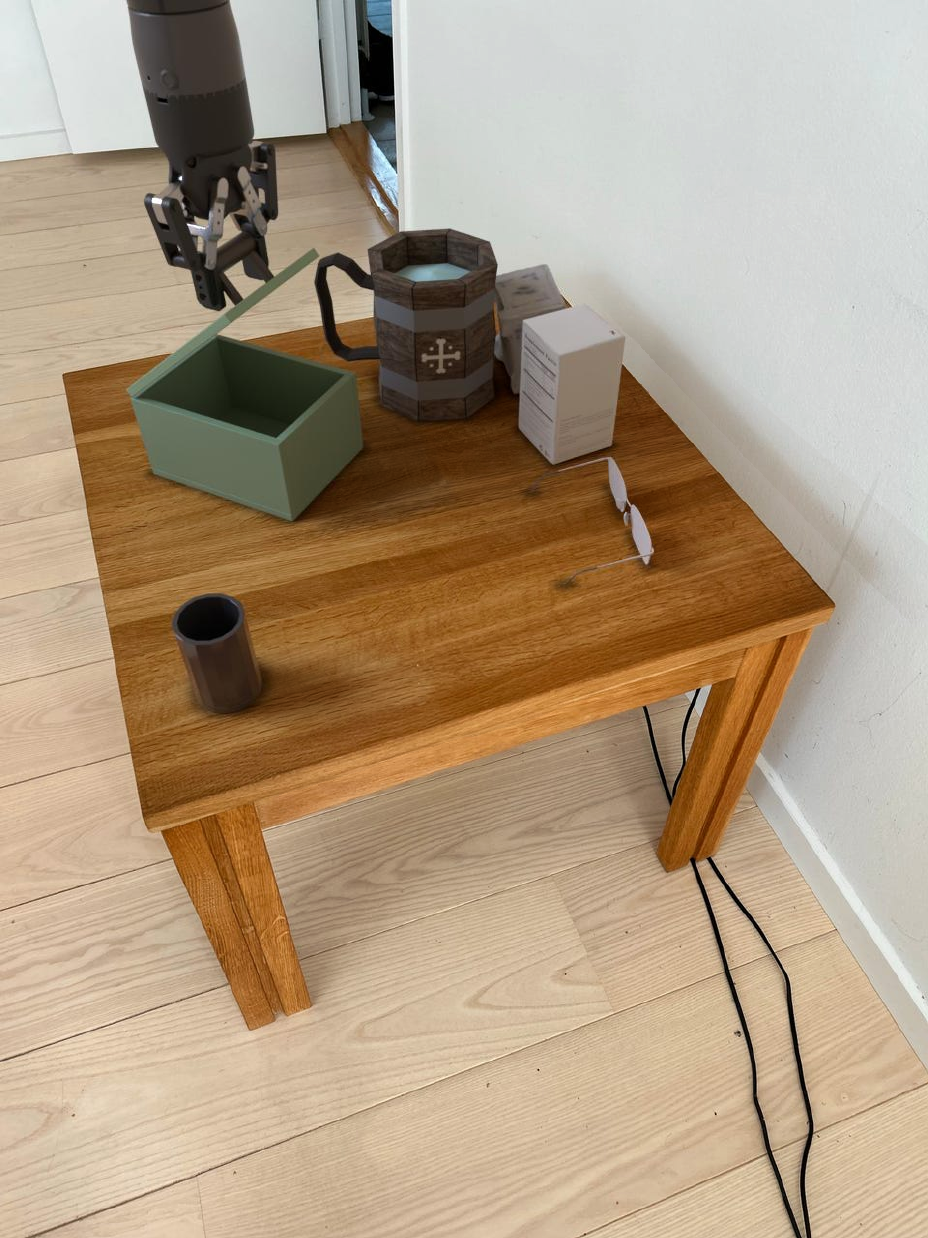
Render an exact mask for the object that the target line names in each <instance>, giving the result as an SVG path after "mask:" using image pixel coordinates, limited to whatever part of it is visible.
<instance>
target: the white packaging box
mask: <svg viewBox="0 0 928 1238" xmlns="http://www.w3.org/2000/svg"><path fill="white" fill-rule="evenodd" d="M625 344H626V336H625V335H624V334H623V333H622V332H621V331H620V330H619V329H617V328H616V327H615V326H614V325H613V324H611V323H610V322H609V321H608V320H606V319H605V318H604V317H603V316H602V315H600V314H599V313H598V312H597V311H595V310H594V309H593V308H591V307H590V306H589V305H588V304H586V303H581V304H578V305H574V306H570V307H566V309H563V310H559V311H556V312H552V313H548V314H544V315H541V316H537V317H533V318H529V319H525V320H523V327H522V353H521V380H520V393H519V405H518V429H519V430H520V431H521V433H522V434H523V435H524V436H525V437H526V438H527V439H528V440H529V442H530V443H531V444H532V445H533V446H534V447H535V448H536V449H537V450H538V451H539V452H540V454H542V455H543V457H544V458H545V459H546V460H547V461H548V462H549V463H550V464H551V465H553V466H554V465H557V464H560V463H563V462H567V461H569V460H572V459H575V458H578V457H581V456H584V455H587V454H591V453H594V452H596V451H599V450H602V449H605V448H608V447H611V446H612V445H613V439H614V438H613V437H614V431H615V422H616V416H617V415H616V414H617V407H618V401H619V399H618V398H619V390H620V382H621V377H622V375H621V374H622V368H623V367H622V366H623V361H624V352H625Z"/></svg>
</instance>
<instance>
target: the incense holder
mask: <svg viewBox="0 0 928 1238" xmlns="http://www.w3.org/2000/svg"><path fill="white" fill-rule="evenodd" d="M494 303H495V307H496V318H497V323H498V324H497V325H498V330H497V332H498V333H497V334H496V338H495V347H494V356H495V357H496V359H497V360H498V361H499V362H503V364H504V367H505V370H506V372H507V375H508V376H509V378H510V389H511V392H512V393H513V394H514V395H517V394H520V380H521V353H522V327H523V320H525V319H529V318H533V317H537V316H541V315H544V314H548V313H552V312H556V311H559V310H563V309H567V305H566V301H565V300H564V298H563V296H562V294H561V292H560V290H559V288H558V286H557V284H556V281H555V279H554V277H553V273H552V272H551V269H550V267H549V265H548V264H537V265H534V266H531V267H526V268H521V269H516V270H513V271H510V272H506V273H505V272H504V273H501V274H496V280H495V287H494Z"/></svg>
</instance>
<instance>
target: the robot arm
mask: <svg viewBox="0 0 928 1238" xmlns="http://www.w3.org/2000/svg"><path fill="white" fill-rule="evenodd" d="M125 2H126V5H127V11H128V16H129V17H128V18H129V24H130V34H131V41H132V48H133V52H134V56H135V61H136V64H137V69H138V73H139V77H140V81H141V86H142V90H143V95H144V99H145V104H146V108H147V111H148V116H149V121H150V125H151V130H152V132H153V138H154V142H155V144H156V145H157V147H158V148H159V149H160V151H161V152H162V153H163V154H164V155H165V157H166V158H167V162H168V185H167V186H166V187H165V188H164V189H163V190H161V191H160V193H153V192H152V193H151V192H148V193H145V195H144V199H143V204H144V207H145V210H146V213H147V216H148V218H149V221H150V224H151V225H152V228H153V230H154V233H155V235H156V238H157V241H158V243H159V245H160V248H161V251H162V253H163V255H164V258H165V261H166V263H167V265H168V266H170V267H174V268H181V269H184V270H188V271H190V273H191V279H192V283H193V288H194V291H195V295H196V300H197V302H198V303H199V304H200V305H201V306H202V307H203V308H205V309H207V310H211V311H215V312H221V311H222V310H224V309H225V308H226V307H227V300H226V295H225V292H224V290H223V285H222V280H221V276H220V271H219V266H216V257H217V248H218V242H219V240H221V239H222V238H223V235H224V223H225V219H226V218H227V217H228V216H229V217H230V219H231V221H232V223H233V224H234V226H235V228H236V229H237V231H240V232H248V233H249V234H251V235H252V236H253V238H254V239H255V242H256V252H257V253H258V255H259V256H260V257H261V259H262V260H263V261H264V263H265V264H266V266H267V267H268V268H269V265H270V262H269V261H270V260H269V256H268V249H267V243H266V237H265V236H266V234H267V233H268V223H269V222H270V221H276V220H277V218H278V217H279V199H278V177H277V176H278V175H277V158H276V147H275V145H274V144H273V143H270V142H263V141H258V140H253V139H254V138H255V125H254V120H253V114H252V108H251V102H250V96H249V88H248V84H247V78H246V77H247V76H246V72H245V71H246V69H245V64H244V58H243V52H242V46H241V40H240V35H239V31H238V27H237V23H236V19H235V17H234V14H233V13H234V12H233V9H232V5H231V1H230V0H125ZM260 189H261V190H263V193H264V194H263V195H264V202H262V201H260ZM195 218H197V219H199V220H203V221H208V223H207V225H202V224H198V223H197V221H196V219H195ZM199 237H201V239H202V251H201V250H198V244H199ZM241 262H242V267H243V272H244V274H245V276H246V277H247V278H249V279H253V280H258V281H264V280H263V279H262V277H261V276H260V275H259V273H258V272H257V270H256V269H255V268H254V266H253V265H252V264H251V262H250V261H249V259H248V258H247V257H246V258H244V259H243V260H241Z"/></svg>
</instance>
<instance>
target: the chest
mask: <svg viewBox="0 0 928 1238" xmlns="http://www.w3.org/2000/svg"><path fill="white" fill-rule="evenodd" d="M129 400H130V402H131V406H132V409H133V412H134V416H135V419H136V422H137V425H138V429H139V433H140V435H141V439H142V441H143V444H144V448H145V451H146V454H147V458H148V461H149V465H150V468H151V471H152V473H153V475H156V476H158V477H161V478H165V479H167V480H170V481H173V482H177V483H179V484H182V485H185V486H188V487H191V488H193V489H196V490H199V491H202V492H205V493H208V494H210V495H213V496H217V497H220V498H223V499H225V500H227V501H228V500H229V501H231V502H234V503H237V504H240V505H242V506H246V507H249V508H251V509H255V510H256V511H257V510H258V511H261V512H263V513H265V514H268V515H272V516H274V517H278V518H281V519H282V520H283V519H284V520H286V521H289V522H294V521H295V520H296V519H297V517H299V516H300V515H301V513H303V511H304V510H306V508H307V507H308V506H309V505H310V504H311V503H312V502H313V501H314V500H315V499H316V498H317V497H318V496H319V495H320V493H322V491H323V490H324V489H325V488H326V487H327V486H328V485H329V484H330V483H331V482H332V481H333V480H334V479H335V478H336V477H337V476H338V475H339V474H340V473H341V472H342V471H343V469H344V468H345V467H347V465H348V464H349V463H350V462H351V461H352V460H353V459H354V458H355V457H356V456H357V455H358V454H359V453H360V452H361V451H362V450H363V448H364V441H363V431H362V421H361V410H360V402H359V401H360V400H359V391H358V379H357V373H356V371H351V370H348V369H344V368H340V367H337V366H333V365H329V364H326V363H323V362H318V361H315V360H311V359H309V358H305V357H301V356H297V355H294V354H291V353H287V352H283V351H279V350H275V349H272V348H269V347H265V346H261V345H258V344H254V343H250V342H248V341H244V340H240V339H237V338H232V337H229V336H226V335H222V334H219V333H217V334H216V335H215V336H213V337H212V338H211V339H209V340H208V341H207V342H205V343H204V344H203V345H201V346H200V347H199V348H197V349H196V350H195V351H193V352H192V353H191V354H189V355H188V356H187V357H185V358H184V359H183V360H181V361H180V362H179V363H177V364H176V365H175V366H173V367H172V368H171V369H169V370H168V371H167V372H165V373H164V374H163V375H161V376H160V377H159V378H157V379H156V380H155V381H153V382H152V383H151V384H149V385H148V386H147V387H145V388H144V389H143V390H141V391H140V392H139V393H137V394H136V395H135V396H133V397H131V396H130V398H129Z"/></svg>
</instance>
